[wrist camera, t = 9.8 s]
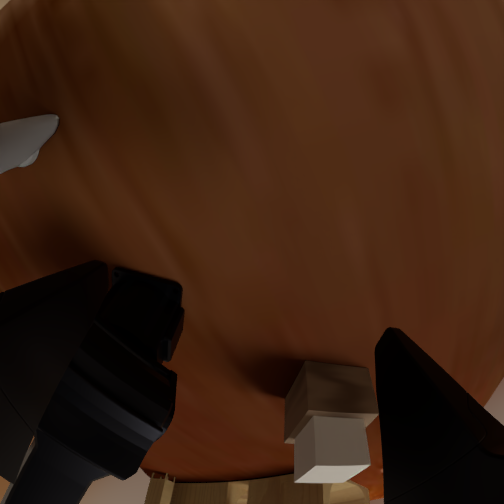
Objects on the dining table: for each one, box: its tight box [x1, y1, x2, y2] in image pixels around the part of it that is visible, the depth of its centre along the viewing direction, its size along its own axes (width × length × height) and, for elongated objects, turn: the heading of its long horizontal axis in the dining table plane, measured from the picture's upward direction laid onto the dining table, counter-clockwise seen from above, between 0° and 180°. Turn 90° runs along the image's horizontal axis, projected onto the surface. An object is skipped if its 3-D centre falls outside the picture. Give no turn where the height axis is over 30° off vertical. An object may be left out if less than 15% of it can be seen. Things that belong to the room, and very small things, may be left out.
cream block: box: [294, 416, 371, 483], centre depth 20 cm, size 5×5×5 cm
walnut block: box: [284, 360, 379, 444], centre depth 25 cm, size 7×7×6 cm
